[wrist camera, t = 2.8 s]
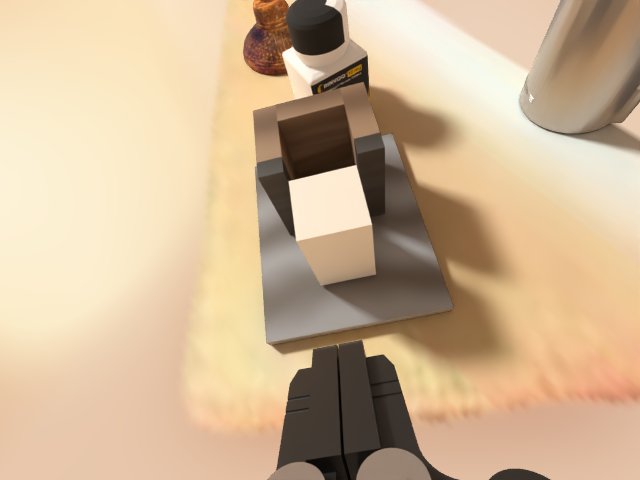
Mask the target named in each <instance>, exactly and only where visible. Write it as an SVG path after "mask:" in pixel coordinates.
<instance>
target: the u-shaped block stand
mask: <svg viewBox="0 0 640 480" xmlns="http://www.w3.org/2000/svg"><path fill="white" fill-rule="evenodd" d="M253 117H254V131H255V146H256V160H257V166H256V167H255V176H256V191H257V207H258V222H259V237H260V253H261V268H262V284H263V299H264V315H265V330H266V343H267V344H269V345H274V344H280V343H285V342H290V341H295V340H301V339H306V338H311V337H316V336H322V335H327V334H332V333H337V332H342V331H348V330H353V329H358V328H363V327H369V326H374V325H379V324H384V323H390V322H395V321H400V320H405V319H411V318H416V317H421V316H426V315H432V314H437V313H442V312H447V311H451V310H452V309H453V307H454V306H453V303H452V301H451V298H450V295H449V292H448V289H447V287H446V284H445V281H444V278H443V275H442V273H441V270H440V267H439V264H438V261H437V258H436V256H435V253H434V250H433V247H432V244H431V242H430V239H429V236H428V233H427V230H426V227H425V225H424V222H423V219H422V216H421V213H420V211H419V208H418V205H417V202H416V199H415V196H414V194H413V191H412V188H411V185H410V182H409V180H408V177H407V174H406V171H405V168H404V165H403V163H402V160H401V157H400V154H399V151H398V149H397V146H396V143H395V140H394V137H393V134H392V133H391V134H387V135H383V136H381V133H380V130H379V127H378V124H377V121H376V118H375V115H374V112H373V109H372V106H371V103H370V100H369V97H368V94H367V91H366V88H365V85H364V82H361V83H357V84H354V85H350V86H346V87H342V88H338V89H334V90H331V91H327V92H323V93H319V94H315V95H312V96H308V97H304V98H300V99H296V100H293V101H289V102H285V103H281V104H277V105H274V106H270V107H266V108H262V109H258V110H254V111H253ZM355 165H356V166H357V169H358V173H359V177H360V181H361V185H362V188H363V192H364V196H365V200H366V204H367V207H368V211H369V215H370V219H371V223H372V231H373V244H374V256H375V269H376V275H371V276H366V277H361V278H356V279H351V280H346V281H341V282H337V283H332V284H327V285H322V286H321V285H320V283H319V281H318V280H317V278H316V276H315V274H314V272H313V271H312V269H311V267H310V265H309V263H308V262H307V260H306V258H305V256H304V254H303V252H302V251H301V249H300V247H299V245H298V243H297V242H296V235H295V227H294V219H293V212H292V204H291V196H290V188H289V181H292V180H296V179H300V178H305V177H309V176H313V175H317V174H321V173H325V172H330V171H334V170H338V169H342V168H346V167H351V166H355Z"/></svg>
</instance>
